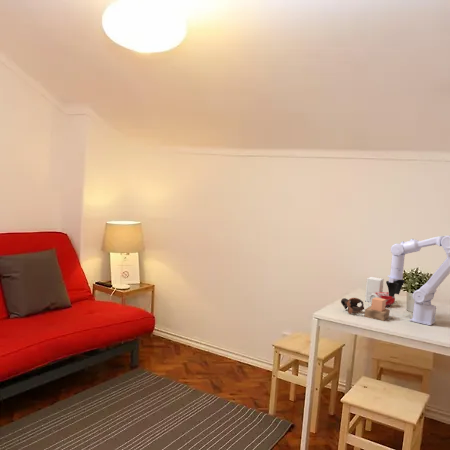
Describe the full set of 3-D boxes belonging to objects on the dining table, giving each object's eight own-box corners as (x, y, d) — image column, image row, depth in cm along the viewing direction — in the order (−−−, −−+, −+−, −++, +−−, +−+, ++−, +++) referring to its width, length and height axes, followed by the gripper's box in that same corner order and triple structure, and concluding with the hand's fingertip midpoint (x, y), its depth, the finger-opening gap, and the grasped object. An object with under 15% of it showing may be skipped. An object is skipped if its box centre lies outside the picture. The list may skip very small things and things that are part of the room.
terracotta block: (385, 309, 228) (386, 299, 227) (381, 311, 224) (382, 301, 223) (374, 307, 231) (375, 297, 230) (371, 309, 227) (372, 298, 226)
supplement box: (382, 301, 259) (384, 278, 257) (378, 303, 253) (380, 280, 251) (368, 298, 263) (370, 276, 261) (364, 301, 257) (366, 278, 255)
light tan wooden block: (388, 317, 228) (389, 309, 228) (383, 321, 221) (384, 313, 220) (370, 313, 233) (370, 305, 233) (364, 317, 226) (365, 309, 225)
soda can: (371, 289, 248) (389, 289, 253) (366, 300, 251) (384, 299, 256) (379, 298, 242) (397, 297, 247) (374, 309, 245) (392, 308, 250)
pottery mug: (365, 313, 235) (368, 301, 230) (357, 324, 229) (360, 312, 224) (343, 302, 241) (345, 290, 236) (334, 313, 235) (336, 301, 230)
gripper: (393, 264, 240) (391, 291, 242) (383, 268, 229) (380, 295, 230) (408, 267, 236) (405, 294, 237) (398, 270, 225) (395, 298, 226)
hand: (394, 295), depth 234 cm, fingers open, 7 cm apart
